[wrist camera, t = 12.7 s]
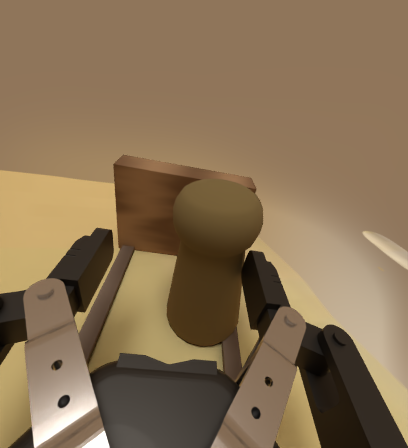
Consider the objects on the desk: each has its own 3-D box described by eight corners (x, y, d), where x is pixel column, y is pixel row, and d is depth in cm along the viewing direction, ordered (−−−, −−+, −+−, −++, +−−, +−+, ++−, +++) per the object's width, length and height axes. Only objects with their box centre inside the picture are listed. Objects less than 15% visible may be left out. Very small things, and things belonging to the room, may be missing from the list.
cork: (224, 275, 21) (248, 167, 14) (251, 336, 16) (304, 214, 10) (162, 284, 19) (159, 167, 13) (171, 354, 14) (173, 224, 8)
